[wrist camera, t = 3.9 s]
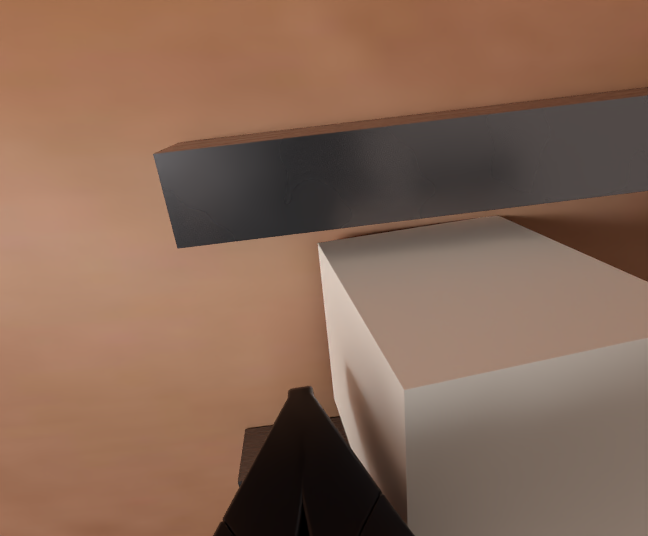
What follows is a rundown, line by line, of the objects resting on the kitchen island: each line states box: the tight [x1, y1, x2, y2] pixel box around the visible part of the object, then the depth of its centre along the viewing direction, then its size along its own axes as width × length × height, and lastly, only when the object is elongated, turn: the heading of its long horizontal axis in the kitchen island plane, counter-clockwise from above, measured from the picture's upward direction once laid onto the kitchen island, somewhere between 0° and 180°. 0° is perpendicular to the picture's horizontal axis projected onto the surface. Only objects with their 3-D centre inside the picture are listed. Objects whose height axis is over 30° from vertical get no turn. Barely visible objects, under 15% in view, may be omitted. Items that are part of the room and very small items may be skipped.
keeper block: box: [318, 216, 648, 536], centre depth 9 cm, size 5×5×6 cm
